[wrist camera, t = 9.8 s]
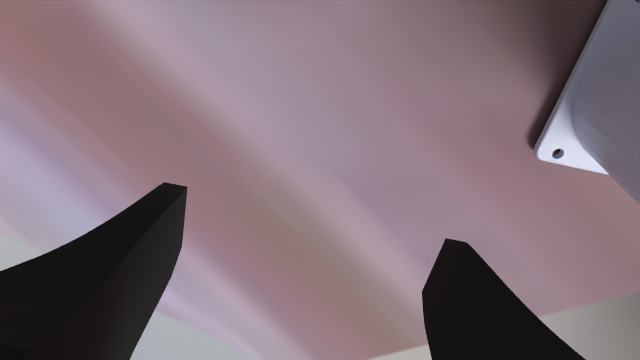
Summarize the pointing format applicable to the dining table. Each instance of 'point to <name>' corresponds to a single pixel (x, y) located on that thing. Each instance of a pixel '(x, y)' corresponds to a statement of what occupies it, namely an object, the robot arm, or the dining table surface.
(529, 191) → the dining table surface
